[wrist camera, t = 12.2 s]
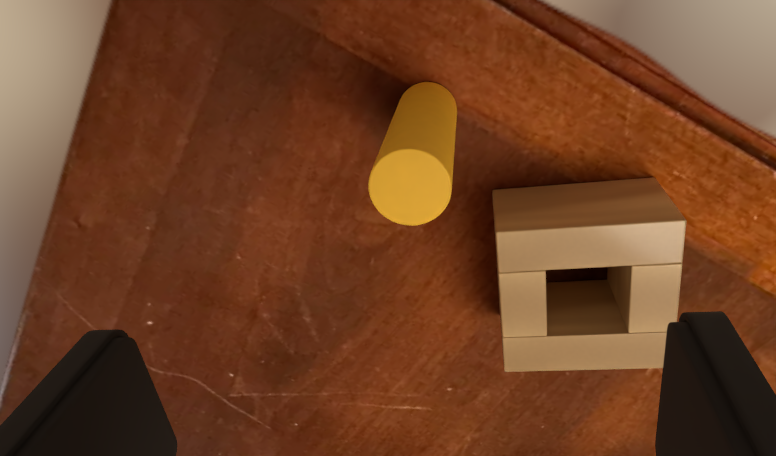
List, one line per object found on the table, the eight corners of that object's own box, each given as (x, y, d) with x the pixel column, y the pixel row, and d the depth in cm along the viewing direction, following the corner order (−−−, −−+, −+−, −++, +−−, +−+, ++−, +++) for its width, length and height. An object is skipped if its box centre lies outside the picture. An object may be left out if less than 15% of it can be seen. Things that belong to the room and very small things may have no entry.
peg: (394, 84, 29) (362, 152, 21) (454, 78, 29) (447, 144, 20) (401, 142, 31) (374, 228, 22) (459, 136, 30) (455, 223, 21)
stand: (492, 189, 31) (495, 232, 27) (654, 176, 30) (687, 219, 25) (500, 315, 35) (504, 372, 30) (646, 310, 33) (672, 368, 29)
